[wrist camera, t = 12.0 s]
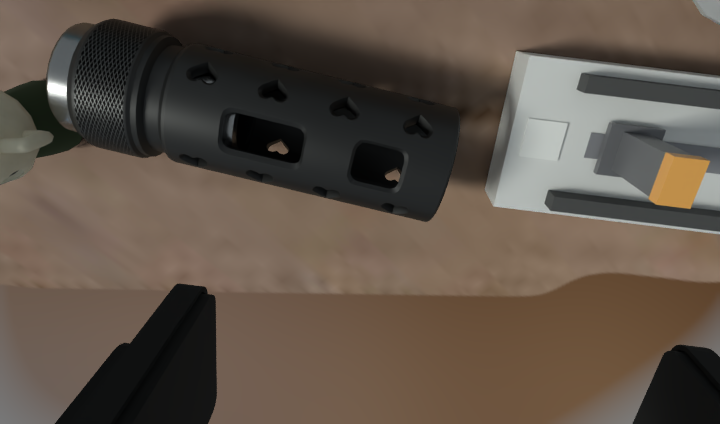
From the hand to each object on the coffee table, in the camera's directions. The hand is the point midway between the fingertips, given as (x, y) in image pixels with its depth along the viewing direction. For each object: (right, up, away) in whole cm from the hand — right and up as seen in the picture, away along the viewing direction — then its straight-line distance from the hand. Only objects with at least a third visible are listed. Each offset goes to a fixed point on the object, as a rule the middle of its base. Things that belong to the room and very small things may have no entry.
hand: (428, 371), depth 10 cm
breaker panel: (+23, +9, +31) cm, 40 cm away
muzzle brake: (-8, +12, +32) cm, 35 cm away
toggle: (+19, +8, +27) cm, 34 cm away
